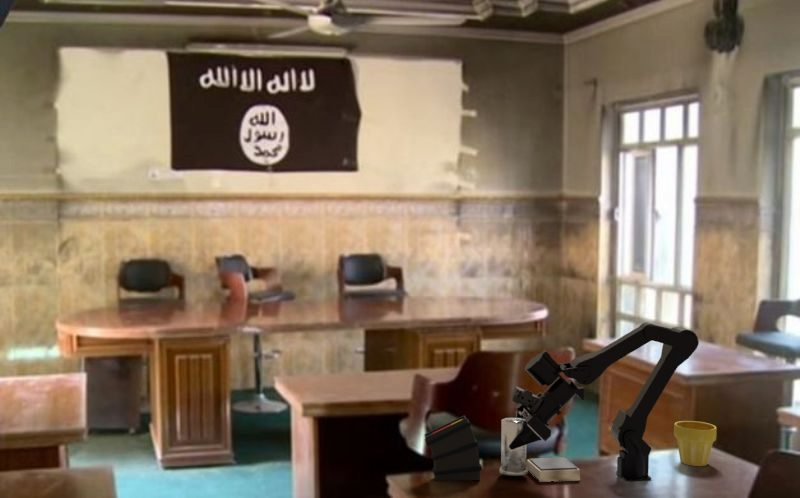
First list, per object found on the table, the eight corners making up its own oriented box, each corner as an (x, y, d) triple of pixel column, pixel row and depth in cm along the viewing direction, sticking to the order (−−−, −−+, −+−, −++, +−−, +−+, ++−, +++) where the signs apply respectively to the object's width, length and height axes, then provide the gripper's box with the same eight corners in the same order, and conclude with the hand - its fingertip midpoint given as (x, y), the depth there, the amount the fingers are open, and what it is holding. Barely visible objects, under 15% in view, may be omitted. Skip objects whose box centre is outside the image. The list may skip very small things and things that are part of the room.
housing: (523, 467, 222) (523, 416, 222) (531, 475, 216) (532, 423, 215) (496, 468, 221) (496, 417, 221) (503, 476, 215) (504, 424, 214)
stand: (565, 468, 226) (565, 456, 226) (579, 480, 216) (580, 468, 216) (526, 470, 224) (527, 458, 224) (539, 482, 214) (539, 469, 214)
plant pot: (716, 459, 236) (717, 422, 235) (714, 470, 226) (715, 431, 226) (675, 455, 239) (675, 418, 239) (671, 465, 230) (672, 427, 229)
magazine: (494, 474, 215) (467, 417, 214) (444, 498, 214) (417, 441, 213) (491, 469, 218) (465, 414, 218) (442, 493, 218) (416, 437, 217)
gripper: (524, 368, 227) (480, 412, 227) (537, 383, 208) (489, 430, 208) (555, 400, 227) (511, 443, 228) (571, 416, 209) (523, 464, 209)
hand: (508, 444), depth 218 cm, fingers closed on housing, 6 cm apart
